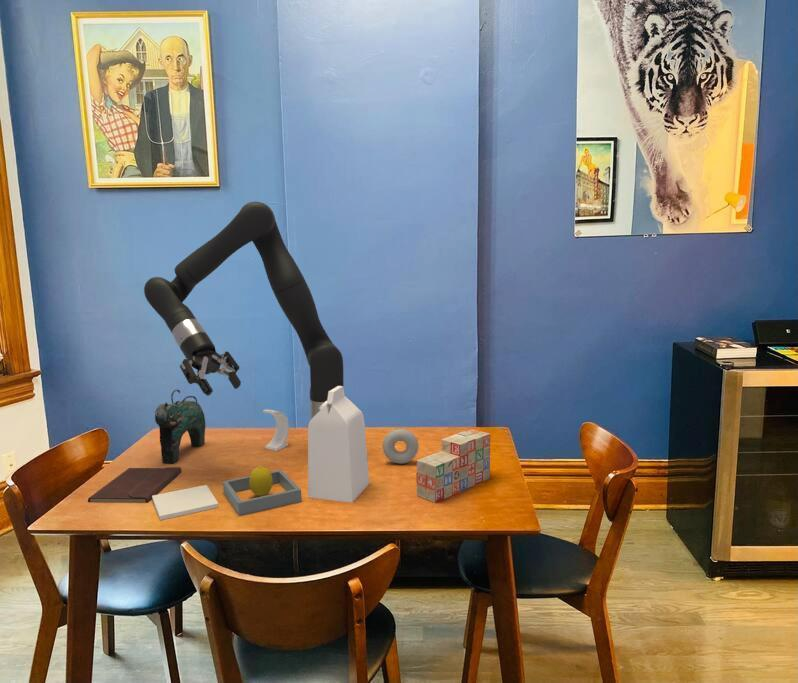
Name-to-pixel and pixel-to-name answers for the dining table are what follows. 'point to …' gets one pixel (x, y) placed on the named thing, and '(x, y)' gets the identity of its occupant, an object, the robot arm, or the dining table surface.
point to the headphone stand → (278, 431)
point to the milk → (337, 450)
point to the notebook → (136, 485)
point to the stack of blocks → (454, 465)
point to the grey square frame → (264, 501)
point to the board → (184, 502)
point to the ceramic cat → (179, 426)
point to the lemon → (260, 481)
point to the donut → (396, 455)
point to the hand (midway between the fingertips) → (224, 390)
